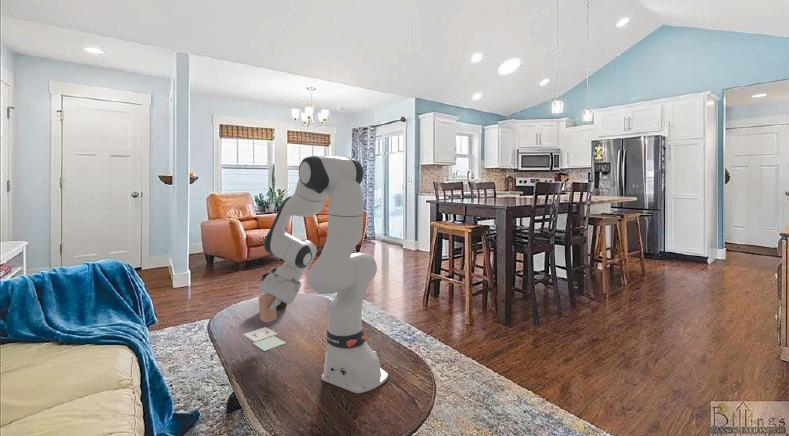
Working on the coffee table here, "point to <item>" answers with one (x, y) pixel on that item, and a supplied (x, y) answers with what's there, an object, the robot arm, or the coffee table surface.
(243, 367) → the coffee table surface
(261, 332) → the tile
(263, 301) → the block
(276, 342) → the coaster
